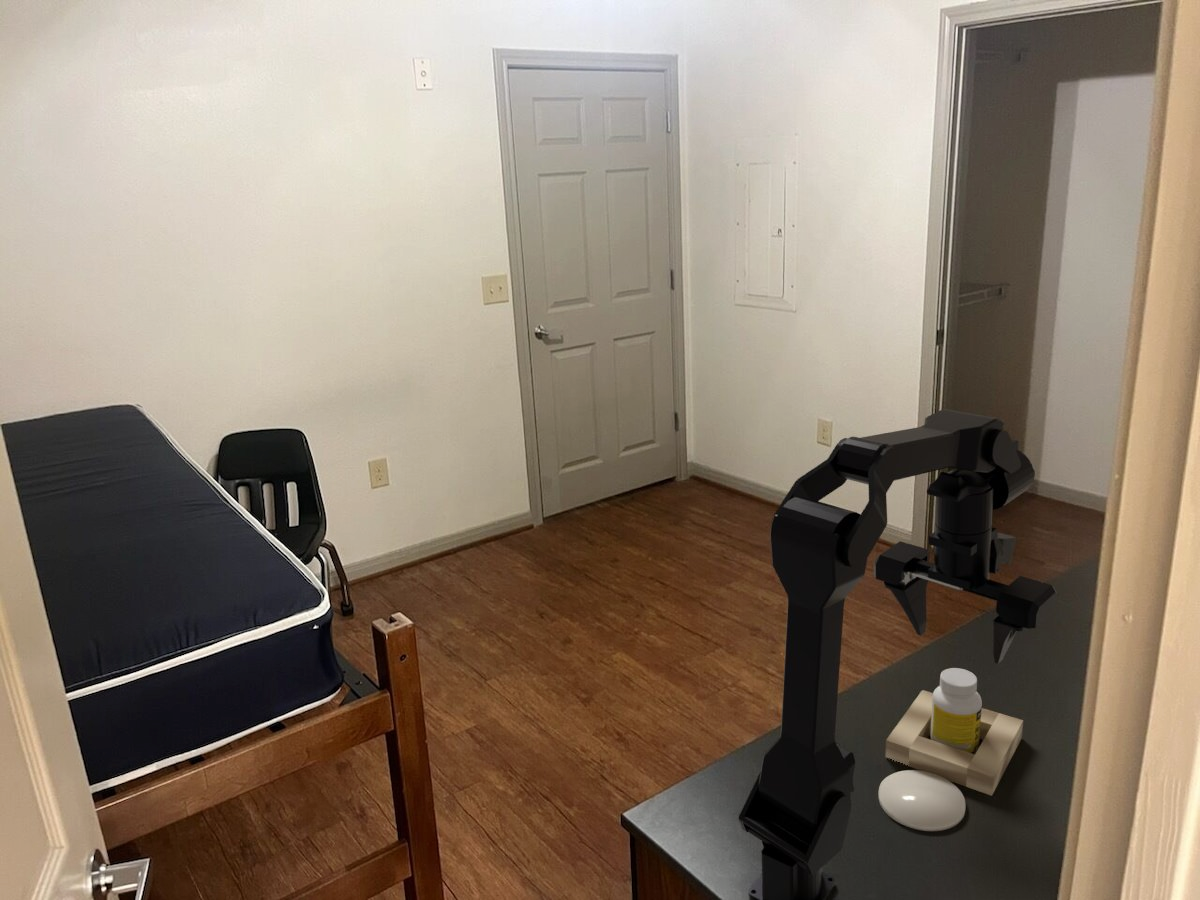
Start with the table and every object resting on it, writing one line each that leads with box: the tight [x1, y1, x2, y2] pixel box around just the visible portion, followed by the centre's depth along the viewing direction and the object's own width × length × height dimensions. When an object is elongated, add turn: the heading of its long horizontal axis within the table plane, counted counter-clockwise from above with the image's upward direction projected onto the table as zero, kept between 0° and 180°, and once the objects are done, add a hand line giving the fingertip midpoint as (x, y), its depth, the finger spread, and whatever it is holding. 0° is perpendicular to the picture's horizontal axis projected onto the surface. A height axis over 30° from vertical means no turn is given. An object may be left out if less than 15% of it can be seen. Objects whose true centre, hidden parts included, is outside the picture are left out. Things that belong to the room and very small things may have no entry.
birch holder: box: [885, 689, 1024, 797], centre depth 107 cm, size 12×12×2 cm
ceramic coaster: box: [878, 769, 966, 832], centre depth 99 cm, size 9×9×1 cm
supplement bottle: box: [929, 667, 983, 754], centre depth 105 cm, size 5×5×10 cm
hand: (958, 647), depth 103 cm, fingers open, 9 cm apart
